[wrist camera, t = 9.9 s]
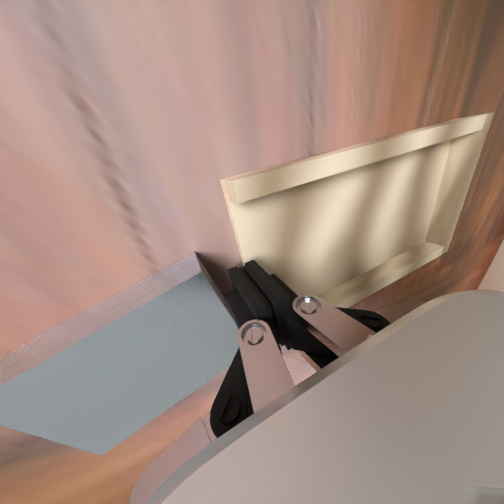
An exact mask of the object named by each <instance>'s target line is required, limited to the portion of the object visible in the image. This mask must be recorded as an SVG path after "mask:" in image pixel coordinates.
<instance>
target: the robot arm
mask: <svg viewBox="0 0 504 504" xmlns="http://www.w3.org/2000/svg"><path fill="white" fill-rule="evenodd" d="M243 270H244V271H243ZM228 272H229V275H230V278H231V282H232V285H233V288H234V291H232V292H230V293H228V294H225V298H226V301H227V304H228V307H229V309H230V312H231V314H232V316H233V319H234V321H235V323H236V325H237V328H238V330H239V331H238V334H237V337H238V343H239V348H238V350H237V352H236V354H235V357H234V359H233V361H232V363H231V365H230V367H229V370H228V372H227V374H226V376H225V378H224V381H223V383H222V385H221V387H220V389H219V392H218V394H217V396H216V398H215V400H214V403H213V405H212V408H211V411H210V412H209V413H208V414H207V415H206V416H205V417H204V418H203V419H202V418H201V417H200V418H199V419H198V420H197V421H196V422H194V423H193V424H192V425H191V426H190V427H189V428H188V429H187V430H186V431H185V432H184V433H183V434H182V435H180V436H179V437H178V438H177V439H176V440H175V441H174V442H173V443H172V444H171V445H170V446H169V447H168V448H167V449H165V450H164V451H163V452H162V453H161V454H160V455H159V456H158V457H157V458H156V459H155V460H154V461H153V462H151V463H150V464H149V465H148V466H147V467H146V469H145V470H144V471H143V472H142V473H141V475H140V476H139V478H138V480H137V482H136V484H135V485H134V487H133V491H132V494H131V497H130V500H129V504H504V292H500V291H494V290H468V291H461V292H454V293H451V294H447V295H443V296H440V297H437V298H435V299H432V300H430V301H428V302H427V301H424V300H410V301H406V302H403V303H399V304H396V305H393V306H389V307H386V308H382V309H379V310H377V313H375V312H372V311H366V310H357V309H349V308H341V307H334V306H332V305H331V304H329V303H327V302H326V301H324V300H323V299H321V298H319V297H317V296H315V295H311V294H304V295H300V296H298V295H297V294H296V293H295V292H294V291H292V290H291V289H290V288H289V287H288V286H287V285H286V284H285V283H284V282H283V281H282V280H281V279H280V278H279V277H277V276H276V275H275V274H271V275H269V274H268V273H267V272H266V271H265V270H264V269H263V268H262V267H261V266H260V265H259V264H258V263H257V262H256V261H255V260H251V261H248V262H246V263H245V266H243V269H242V268H241V267H240V268H238V267H237V266H236V267H233V268H231V269H228ZM280 345H281V346H283V345H285V346H286V348H287V349H288V350H290V349H291V348H293V349H295V350H299V352H300V354H301V355H302V356H303V357H304V358H305V359H306V361H307V362H308V363H309V364H310V365H311V366H312V367H313V368H314V369H315V370H316V371H317V372H316V373H315V374H313V375H312V376H310V377H308V378H307V379H305V380H304V381H302V382H301V383H299V384H298V385H296V386H295V384H294V382H293V380H292V378H291V375H290V373H289V371H288V368H287V366H286V364H285V362H284V359H283V357H282V352H281V348H280Z"/></svg>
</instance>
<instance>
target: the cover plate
mask: <svg viewBox="0 0 504 504" xmlns="http://www.w3.org/2000/svg"><path fill="white" fill-rule="evenodd" d="M238 331H239V330H238V328H237V325H236V323H235V321H234V319H233V316H232V314H231V312H230V309H229V307H228V304H227V302H226V300H225V298H224V297H223V295H222V294H221V292H220V291H219V289H218V288H217V286H216V284H215V283H214V281H213V280H212V278H211V277H210V275H209V274H208V272H207V270H206V269H205V267H204V266H203V264H202V263H201V261H200V260H199V258H198V256H197V255H196V253H195V252H192V253H191V254H189V255H187V256H185V257H183V258H181V259H179V260H178V261H176V262H174V263H172V264H170V265H168V266H167V267H165V268H163V269H161V270H159V271H157V272H155V273H154V274H152V275H150V276H148V277H146V278H144V279H143V280H141V281H139V282H137V283H135V284H133V285H131V286H130V287H128V288H126V289H124V290H122V291H120V292H119V293H117V294H115V295H113V296H111V297H109V298H107V299H106V300H104V301H102V302H100V303H98V304H96V305H95V306H93V307H91V308H89V309H87V310H85V311H84V312H82V313H80V314H78V315H76V316H74V317H72V318H71V319H69V320H67V321H65V322H63V323H61V324H60V325H58V326H56V327H54V328H52V329H50V330H48V331H47V332H45V333H43V334H41V335H39V336H37V337H36V338H34V339H32V340H30V341H28V342H26V343H24V344H23V345H21V346H19V347H17V348H15V349H13V350H12V351H10V352H8V353H7V354H6V356H5V357H4V358H3V359H2V360H1V361H0V425H2V426H5V427H9V428H12V429H15V430H19V431H22V432H25V433H28V434H32V435H35V436H38V437H42V438H45V439H48V440H52V441H55V442H58V443H61V444H65V445H68V446H71V447H75V448H78V449H81V450H84V451H88V452H91V453H94V454H98V455H101V456H102V455H103V454H105V453H106V452H107V451H109V450H110V449H112V448H113V447H115V446H116V445H118V444H119V443H120V442H122V441H123V440H125V439H126V438H128V437H129V436H130V435H132V434H133V433H135V432H136V431H138V430H139V429H140V428H142V427H143V426H145V425H146V424H148V423H149V422H151V421H152V420H153V419H155V418H156V417H158V416H159V415H161V414H162V413H163V412H165V411H166V410H168V409H169V408H171V407H172V406H173V405H175V404H176V403H178V402H179V401H181V400H182V399H184V398H185V397H186V396H188V395H189V394H191V393H192V392H194V391H195V390H196V389H198V388H199V387H201V386H202V385H204V384H205V383H206V382H208V381H209V380H211V379H212V378H214V377H215V376H217V375H218V374H219V373H221V372H222V371H224V370H225V369H227V368H228V367H229V366H230V365H231V363H232V361H233V359H234V357H235V354H236V352H237V350H238V348H239V343H238V337H237V334H238Z"/></svg>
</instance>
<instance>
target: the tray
mask: <svg viewBox="0 0 504 504" xmlns="http://www.w3.org/2000/svg"><path fill="white" fill-rule="evenodd" d="M493 115H494V112H490V113H485V114H480V115H474V116H469V117H464V118H459V119H454V120H450V121H446V122H442V123H438V124H434V125H431V126H427V127H423V128H419V129H415V130H411V131H407V132H403V133H400V134H396V135H392V136H388V137H384V138H380V139H376V140H372V141H368V142H365V143H361V144H357V145H353V146H349V147H345V148H341V149H337V150H334V151H330V152H326V153H322V154H318V155H314V156H310V157H306V158H302V159H299V160H295V161H291V162H287V163H283V164H279V165H275V166H271V167H267V168H264V169H260V170H256V171H252V172H248V173H244V174H240V175H236V176H233V177H229V178H225V179H221V180H220V182H221V185H222V189H223V193H224V197H225V200H226V204H227V208H228V212H229V215H230V219H231V223H232V227H233V230H234V234H235V238H236V241H237V245H238V249H239V253H240V256H241V260H242V264H243V266H245V263H246V262H248V261H251V260H255V261H256V262H257V263H258V264H259V265H260V266H261V267H262V268H263V269H264V270H265V271H266V272H267V273H268V274H269V275H271V274H275V275H276V276H277V277H279V278H280V279H281V280H282V281H283V282H284V283H285V284H286V285H287V286H288V287H289V288H290V289H291V290H292V291H294V292H295V293H296V294H297V295H298V296H300V295H304V294H311V295H315V296H317V297H319V298H321V299H323V300H324V301H326V302H327V303H329V304H331V305H332V306H334V307H341V308H349V307H351V306H352V305H354V304H356V303H358V302H359V301H361V300H363V299H365V298H366V297H368V296H370V295H372V294H373V293H375V292H377V291H379V290H381V289H382V288H384V287H386V286H388V285H389V284H391V283H393V282H395V281H396V280H398V279H400V278H402V277H403V276H405V275H407V274H409V273H411V272H412V271H414V270H416V269H418V268H419V267H421V266H423V265H425V264H426V263H428V262H430V261H432V260H433V259H435V258H437V257H439V256H440V255H442V254H444V253H446V252H447V251H448V248H449V245H450V242H451V239H452V236H453V233H454V230H455V227H456V225H457V222H458V219H459V216H460V213H461V210H462V207H463V204H464V201H465V198H466V195H467V192H468V189H469V186H470V183H471V180H472V177H473V174H474V171H475V168H476V166H477V163H478V160H479V157H480V154H481V151H482V148H483V145H484V142H485V139H486V136H487V133H488V130H489V127H490V124H491V121H492V118H493ZM280 346H281V345H280Z"/></svg>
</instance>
